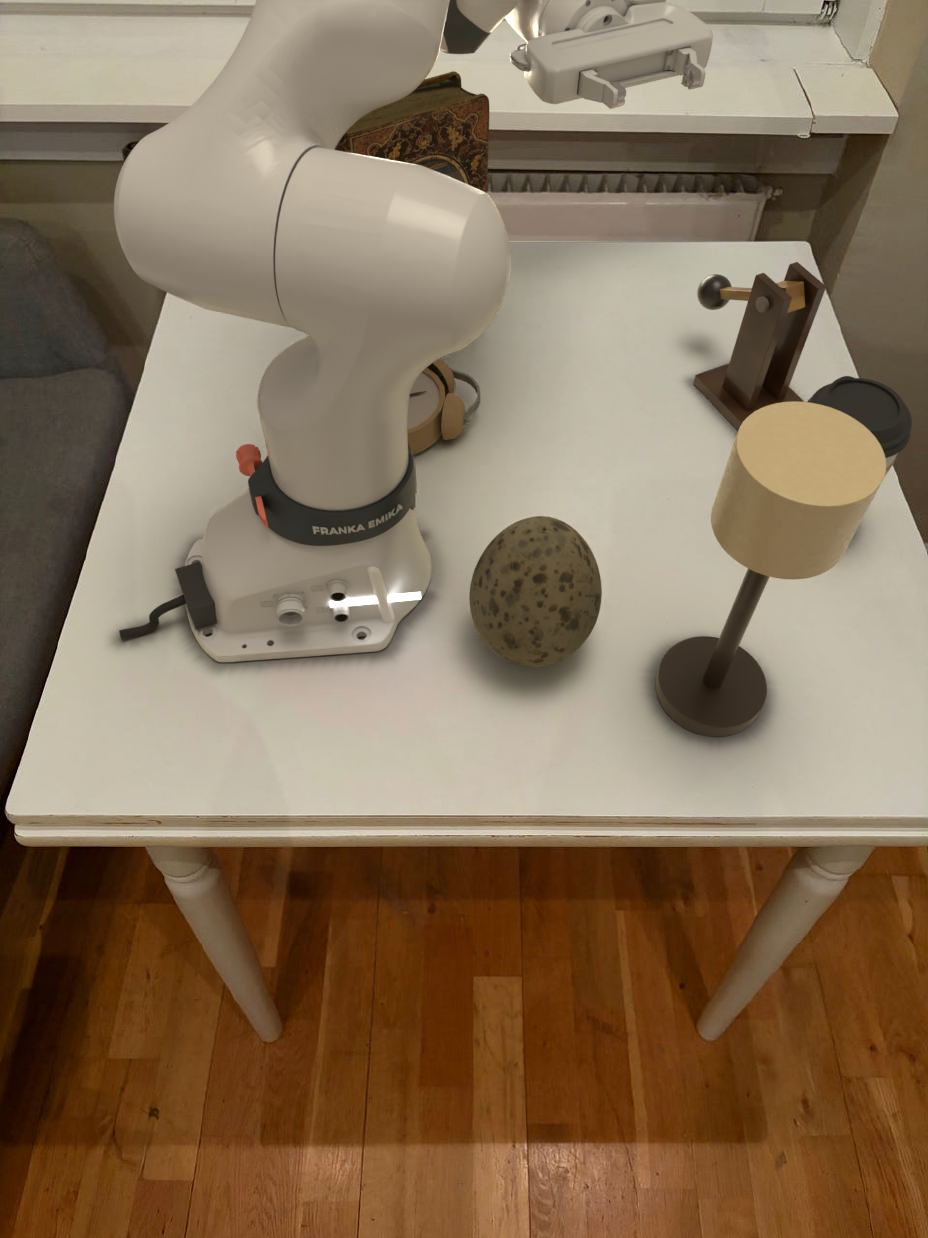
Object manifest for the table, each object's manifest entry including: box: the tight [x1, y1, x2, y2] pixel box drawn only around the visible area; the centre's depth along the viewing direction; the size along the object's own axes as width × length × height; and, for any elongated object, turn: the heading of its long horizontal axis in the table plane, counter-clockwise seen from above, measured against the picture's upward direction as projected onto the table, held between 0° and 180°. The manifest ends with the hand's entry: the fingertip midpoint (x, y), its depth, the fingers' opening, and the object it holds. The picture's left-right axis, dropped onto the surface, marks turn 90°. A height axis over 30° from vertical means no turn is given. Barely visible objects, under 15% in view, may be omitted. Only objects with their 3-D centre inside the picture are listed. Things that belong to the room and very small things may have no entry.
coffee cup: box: [806, 375, 913, 477], centre depth 86 cm, size 9×9×15 cm
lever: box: [696, 273, 805, 313], centre depth 96 cm, size 14×4×4 cm
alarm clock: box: [408, 358, 481, 455], centre depth 98 cm, size 11×5×15 cm
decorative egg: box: [468, 515, 603, 667], centre depth 77 cm, size 11×11×15 cm
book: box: [335, 71, 490, 194], centre depth 98 cm, size 16×6×25 cm, turn 122°
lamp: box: [654, 401, 886, 738], centre depth 69 cm, size 9×9×28 cm
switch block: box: [692, 261, 827, 431], centre depth 96 cm, size 10×8×15 cm
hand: (659, 89), depth 94 cm, fingers open, 8 cm apart
